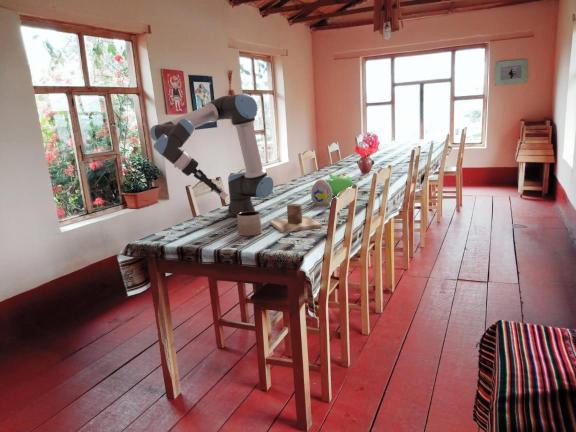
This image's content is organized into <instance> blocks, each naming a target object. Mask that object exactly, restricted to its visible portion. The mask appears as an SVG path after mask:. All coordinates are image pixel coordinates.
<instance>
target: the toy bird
mask: <svg viewBox="0 0 576 432" xmlns="http://www.w3.org/2000/svg"><path fill="white" fill-rule="evenodd" d="M328 176H329V177H330V179H329V178H327V179H324V180H325V181H326V182H327V183H328V184H329V185H330V187H331V190H332V196H336V197H338V196H337V194H338V193H339V192H340V191H342V190H343V189H346V188H348V187H351V186H352V185H354V186H355V184H354V181H353V179H352V177H350V176H349V175H348V174H347V175H346V172H345V173H340V174H336V175H335V174H333V173H328Z"/></svg>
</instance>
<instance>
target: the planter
mask: <svg viewBox="0 0 576 432" xmlns="http://www.w3.org/2000/svg"><path fill="white" fill-rule="evenodd" d="M236 221H237V234H238V235H239V236H243V237H253V236H257V235H259V234H260V235H261V233H262V220H261V212H260V211H257V210H255V211H245V212H240V213H238V214H237V217H236Z"/></svg>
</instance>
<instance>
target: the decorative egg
mask: <svg viewBox="0 0 576 432" xmlns="http://www.w3.org/2000/svg"><path fill="white" fill-rule="evenodd" d="M325 180H326V179H321V178H320V179H318V180H316V181H315V183H314V184H313V186H312V188H311V193H310V196H311V200H312V203H313V204H314V205H315V206H319V207H324V206H329V205H330V204H331V202H332V198H333V194H332V190H331V187H330V185H329V183H327V182H326V181H325Z"/></svg>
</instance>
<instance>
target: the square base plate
mask: <svg viewBox="0 0 576 432" xmlns="http://www.w3.org/2000/svg"><path fill="white" fill-rule="evenodd" d="M286 209H287V210H286V211H287V212H286V214H287V216H286V217H287V218H278V219H271V220H269V224H270V225H271V226H272V227H274V228H275V229H277V230H278V231H279V232H281V233H289V232H296V231H297V232H298V231H303V230H304V231H305V230H309V229H319V228H322V227H323V225H322V223H321V222H318V221H317V220H315V219H313V218H312V217H310V216H308V215H304V216H303V214H302V213H303V211H302V209H303V208H302V204H301V203H290V204H287V205H286Z"/></svg>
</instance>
